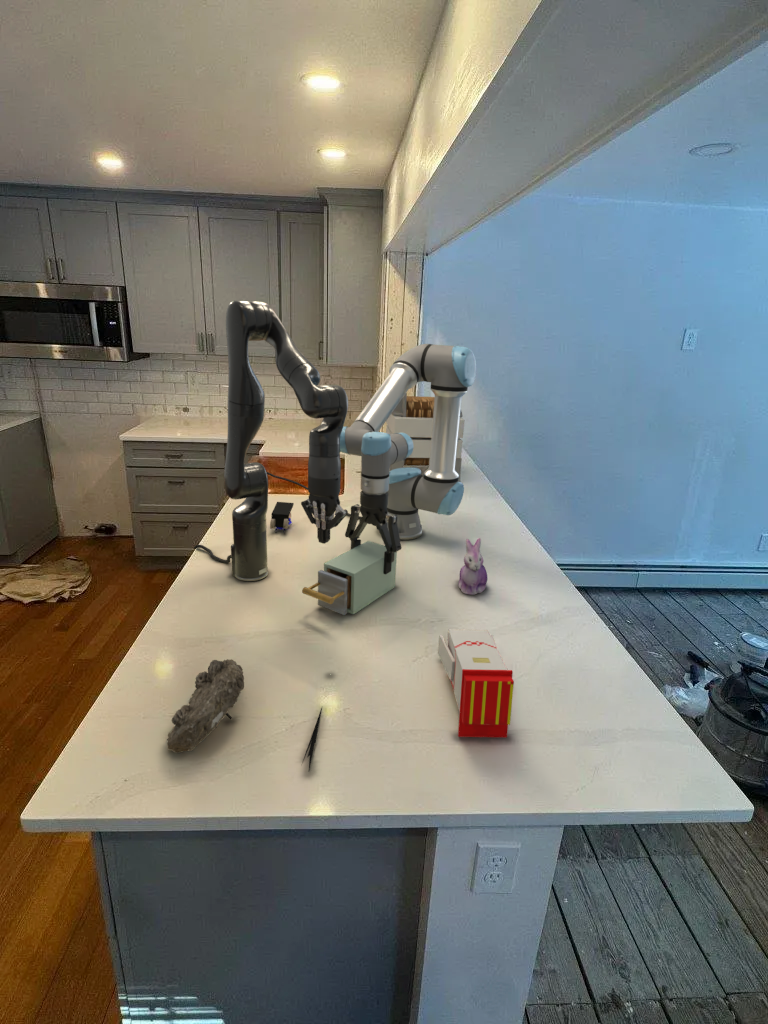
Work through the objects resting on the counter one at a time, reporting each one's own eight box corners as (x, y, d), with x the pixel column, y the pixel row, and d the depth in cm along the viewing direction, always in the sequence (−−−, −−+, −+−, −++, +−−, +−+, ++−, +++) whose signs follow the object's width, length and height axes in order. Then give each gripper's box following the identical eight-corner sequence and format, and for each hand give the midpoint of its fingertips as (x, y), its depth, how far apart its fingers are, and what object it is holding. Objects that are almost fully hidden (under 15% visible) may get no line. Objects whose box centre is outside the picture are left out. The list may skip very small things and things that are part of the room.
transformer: (382, 463, 289) (386, 382, 275) (445, 464, 293) (451, 384, 279) (390, 482, 257) (394, 392, 243) (460, 483, 261) (468, 394, 247)
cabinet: (353, 614, 146) (354, 573, 142) (323, 602, 151) (323, 563, 147) (394, 586, 162) (397, 549, 158) (366, 577, 167) (368, 540, 163)
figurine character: (289, 539, 194) (294, 519, 208) (288, 519, 191) (294, 500, 204) (269, 538, 194) (276, 518, 208) (268, 518, 191) (275, 499, 204)
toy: (488, 613, 130) (523, 677, 101) (484, 667, 133) (517, 744, 104) (435, 612, 130) (455, 676, 101) (432, 666, 133) (451, 743, 103)
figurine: (469, 599, 156) (474, 549, 151) (448, 583, 165) (453, 535, 160) (496, 592, 161) (502, 544, 156) (475, 577, 169) (480, 531, 164)
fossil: (192, 660, 117) (244, 628, 112) (224, 691, 120) (276, 661, 115) (142, 746, 98) (202, 712, 93) (182, 779, 101) (242, 748, 96)
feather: (331, 679, 122) (336, 673, 122) (307, 777, 96) (313, 769, 95) (324, 675, 122) (329, 669, 121) (298, 772, 95) (304, 764, 95)
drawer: (329, 625, 139) (329, 589, 136) (302, 613, 144) (302, 579, 140) (385, 589, 158) (386, 557, 155) (359, 579, 163) (360, 548, 159)
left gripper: (291, 470, 131) (292, 539, 137) (336, 482, 125) (335, 554, 130) (313, 464, 137) (313, 531, 143) (357, 475, 131) (355, 544, 136)
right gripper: (332, 485, 153) (331, 560, 161) (402, 503, 142) (398, 583, 149) (349, 479, 159) (347, 552, 167) (418, 496, 148) (412, 573, 155)
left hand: (323, 542), depth 137 cm, fingers closed
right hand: (371, 567), depth 158 cm, fingers closed on cabinet, 10 cm apart
